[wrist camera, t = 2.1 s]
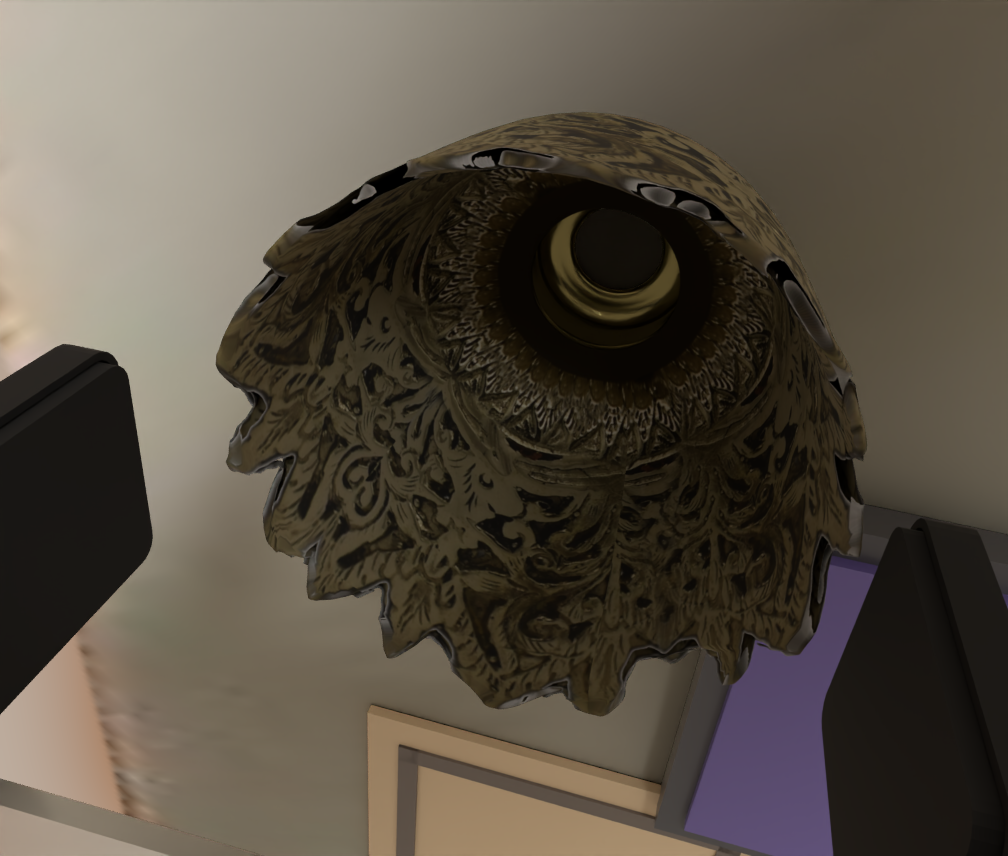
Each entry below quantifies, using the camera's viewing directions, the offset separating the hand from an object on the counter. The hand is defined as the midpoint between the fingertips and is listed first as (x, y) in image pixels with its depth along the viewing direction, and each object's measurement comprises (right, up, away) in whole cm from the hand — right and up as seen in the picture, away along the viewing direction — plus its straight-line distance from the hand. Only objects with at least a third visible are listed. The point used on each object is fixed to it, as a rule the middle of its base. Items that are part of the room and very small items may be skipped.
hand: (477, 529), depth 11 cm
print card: (+2, -13, +17) cm, 22 cm away
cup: (+3, +5, +6) cm, 8 cm away
